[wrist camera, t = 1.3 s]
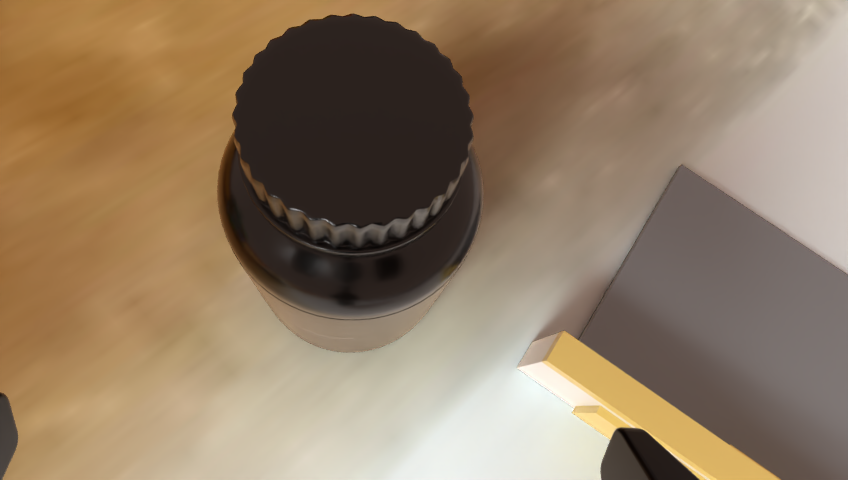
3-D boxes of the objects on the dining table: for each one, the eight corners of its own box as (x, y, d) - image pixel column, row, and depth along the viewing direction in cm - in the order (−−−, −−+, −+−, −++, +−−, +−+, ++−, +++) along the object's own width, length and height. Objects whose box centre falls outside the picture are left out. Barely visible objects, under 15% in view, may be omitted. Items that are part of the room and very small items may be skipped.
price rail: (826, 594, 22) (914, 628, 18) (512, 374, 22) (541, 368, 19) (843, 549, 22) (931, 574, 19) (536, 335, 23) (568, 323, 20)
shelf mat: (832, 539, 22) (839, 540, 22) (569, 355, 23) (572, 355, 23) (913, 323, 25) (919, 322, 25) (678, 167, 26) (681, 164, 26)
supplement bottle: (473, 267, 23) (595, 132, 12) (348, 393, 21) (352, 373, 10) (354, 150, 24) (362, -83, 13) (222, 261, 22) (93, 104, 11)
